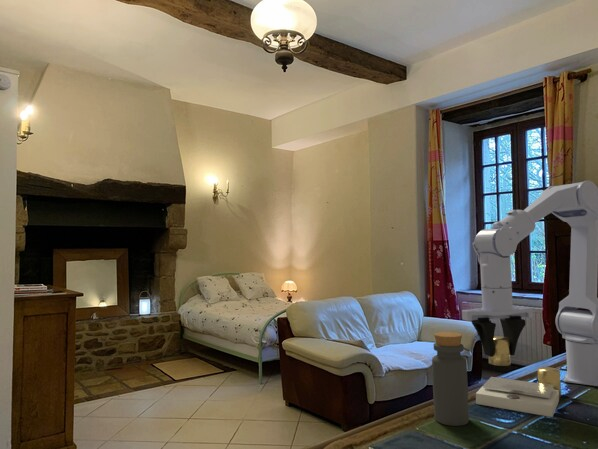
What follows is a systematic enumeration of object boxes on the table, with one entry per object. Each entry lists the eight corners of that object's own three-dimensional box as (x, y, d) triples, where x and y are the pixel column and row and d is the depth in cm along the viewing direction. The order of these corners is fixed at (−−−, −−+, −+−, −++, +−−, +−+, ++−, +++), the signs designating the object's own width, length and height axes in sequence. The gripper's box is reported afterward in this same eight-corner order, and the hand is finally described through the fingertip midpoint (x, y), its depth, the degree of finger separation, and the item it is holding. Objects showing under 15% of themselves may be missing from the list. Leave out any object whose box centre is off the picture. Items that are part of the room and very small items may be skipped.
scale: (488, 389, 95) (488, 379, 95) (559, 400, 88) (558, 389, 88) (476, 403, 87) (475, 392, 87) (552, 417, 80) (551, 404, 80)
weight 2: (540, 390, 95) (539, 366, 95) (562, 393, 92) (560, 368, 92) (537, 395, 91) (536, 370, 92) (560, 398, 89) (558, 373, 89)
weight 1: (492, 359, 94) (491, 335, 94) (512, 362, 91) (511, 337, 92) (486, 363, 91) (485, 338, 91) (507, 366, 88) (505, 341, 89)
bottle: (468, 415, 81) (464, 331, 82) (469, 427, 76) (465, 338, 77) (434, 412, 83) (431, 330, 84) (433, 424, 78) (430, 336, 79)
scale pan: (491, 379, 95) (491, 376, 95) (554, 388, 88) (554, 385, 88) (483, 388, 89) (483, 385, 89) (549, 398, 83) (549, 395, 83)
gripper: (516, 284, 97) (519, 348, 96) (453, 287, 95) (456, 352, 94) (538, 287, 90) (542, 356, 89) (471, 289, 88) (474, 360, 87)
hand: (499, 354), depth 91 cm, fingers closed on weight 1, 4 cm apart
